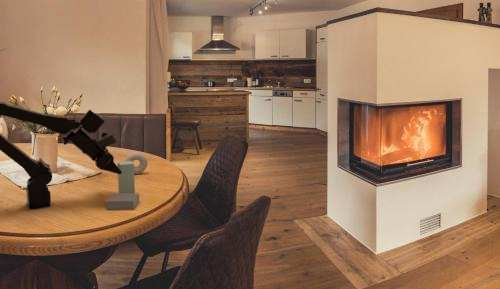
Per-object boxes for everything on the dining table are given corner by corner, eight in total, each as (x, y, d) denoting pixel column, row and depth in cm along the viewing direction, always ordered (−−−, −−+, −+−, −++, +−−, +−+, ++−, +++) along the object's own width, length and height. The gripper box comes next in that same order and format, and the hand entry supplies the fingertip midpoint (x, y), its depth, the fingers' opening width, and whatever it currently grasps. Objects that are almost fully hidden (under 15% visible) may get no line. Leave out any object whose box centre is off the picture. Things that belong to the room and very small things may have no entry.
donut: (147, 172, 188) (146, 151, 187) (148, 174, 185) (147, 152, 183) (124, 173, 185) (124, 152, 183) (125, 175, 182) (124, 153, 180)
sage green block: (121, 197, 150) (119, 164, 148) (118, 194, 155) (117, 162, 153) (134, 196, 153) (133, 163, 151) (132, 192, 157) (131, 161, 155)
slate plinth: (106, 209, 138) (106, 201, 137) (113, 201, 146) (113, 193, 146) (133, 209, 138) (133, 201, 138) (139, 201, 147) (138, 193, 147)
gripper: (105, 129, 137) (139, 159, 144) (97, 123, 154) (129, 149, 161) (81, 154, 135) (117, 183, 142) (76, 145, 152) (109, 171, 159)
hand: (118, 170), depth 151 cm, fingers open, 9 cm apart
